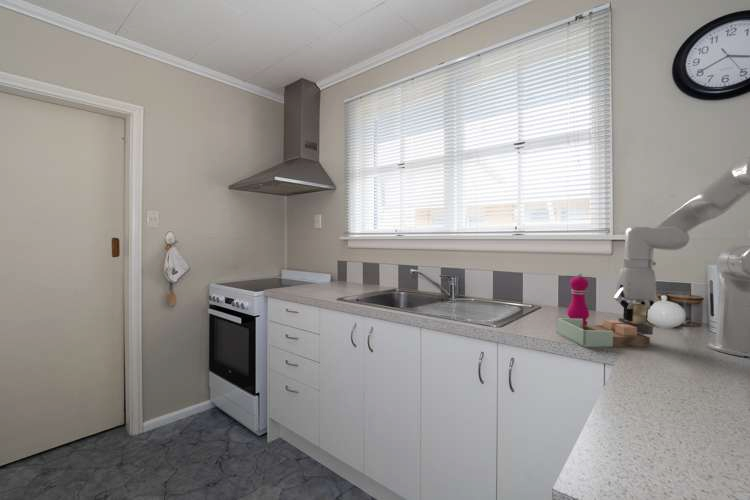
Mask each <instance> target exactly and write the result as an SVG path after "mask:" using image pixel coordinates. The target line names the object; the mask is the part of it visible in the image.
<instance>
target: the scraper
mask: <svg viewBox="0 0 750 500" xmlns="http://www.w3.org/2000/svg"><path fill="white" fill-rule="evenodd" d="M631 309H633V319H632V321H627V320H624V317H618V321H620V322H623V324H628V325H631V326H634V327H637V333H639V334H642V335H646V336H647V335H650V336H651V335H653V333H654V332H653V331H654V327H653V326H652V325H650V324H649V325H648V324H647V322H646V312H647V305H643V304H640V302H633V303H632V307H631Z"/></svg>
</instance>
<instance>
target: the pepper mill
mask: <svg viewBox="0 0 750 500" xmlns="http://www.w3.org/2000/svg"><path fill="white" fill-rule="evenodd" d="M569 287H571V292H570V293H571V294H572V298H571V299H572V300H571V302H570V304H569V306H568V308H567V311H566V312H567V313H566V315H567V317H569V319H583V325H588V321H587V319H589V317H590V312H589V309H588V306H587V304H586V294H587V290H586V289H587V288H588V287H589V282H588V280H587V279H586V278H585V277H583V274H582V273H581V272H578V273H577V274H576V277H573V278H571V280H570V282H569Z"/></svg>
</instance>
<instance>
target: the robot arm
mask: <svg viewBox="0 0 750 500" xmlns="http://www.w3.org/2000/svg"><path fill="white" fill-rule="evenodd" d="M749 194H750V157H747V158H744V159H741V160H739V161H737V162H735V163H733V164H732V165H731V166H729V167H728V168H727V169H726V170H725V171H724V172H723V173H721V174H720V175H719V176H718V177H716V179H714V180H713V181H712V182H711V183H710V184H709V185H707V186H706V187H705V188H704V189H702V190H701V191H700V192H699V193H698V194H696V195H695V196H694V197H692V198H691V199H689V200H688V201H687V202H685V203H684V204H683V205H682V206H680V207H679V208H677V209H676V210H675V211H673V212H672V213H671V214H669V215H668V216H667V217H665V218H664V219H663V220H662V221H660V223H659V224H656V226H655V227H650V226H630V227H628V228H626V230H625V235H624V236H625V239H624V254H623V255H624V257H623V267H621V268H620V270H619V272H618V273H619V274H618V277H617V282H616V283H617V284H616V292H615V293H616V294H615V295H614V297H613V299H614V301H616V302H618V304H620V306H621V307H622V308H623V315H622V316H623V318H624V320H627V321H632V319H633V309H631V307H632V303H634V301H639V303H640V304H643V305H647V312H646V323H647V322H648V316H649V315H648V313H649V310H651V307H652V306H653V305H654V304H655V303H657V302H659V300H660V298H659V297H658V295H657V277H656V271H655V270H654V267H655V266H656V261H654V252H655V251H654V250H655V249H657V250H663V251H677V250H682V249H683V248H685V247H686V246H687V245H688V244H689V242H690V235H689V232H690V231H692V230H693V229H695V228H696V227H698V226H699V225H701V224H703V223H706V222H708V221H710V220H714V219H716V218H718V217H720V216H722V215H723V214H725V213H727V212H728V211H729V210H730V209H731V208H733V207H734V206H735V205H737V204H738V203H739V202H740V201H741V200H742V199H744V198H745V197H747V195H749ZM747 235H748V238H749V239H750V229H748V234H747ZM716 273H717V278H718V293H717V294H718V295H717V296H718V297H717V313H716V332H715V333H716V334H715V340H714V341H713V340H712V341H708V348H710V349H712V350H714V351H718V352H720V353H724V354H729V355H733V356H738V357H744V356H748V357H747V358H750V245H734V246H730V247H728V248H726V249H724V250H723V251H721V252H720V254H719V255H718V256H717V259H716Z"/></svg>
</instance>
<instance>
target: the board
mask: <svg viewBox="0 0 750 500" xmlns="http://www.w3.org/2000/svg"><path fill="white" fill-rule="evenodd" d="M583 330H592V331H613V346H623V347H624V348H625V347H627V348H628V347H629V348H650V342H651V341H650V340H651V338H650V336H647V335H646V334H640V333H638V332H637V335H622V334H620V333H617V332H615V330H610V329H607V328H605V327H603V324H602V325H601V324H599V325H597V324H595V325H594V324H591V325H590V324H587V325H583ZM623 347H622V348H623Z"/></svg>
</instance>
